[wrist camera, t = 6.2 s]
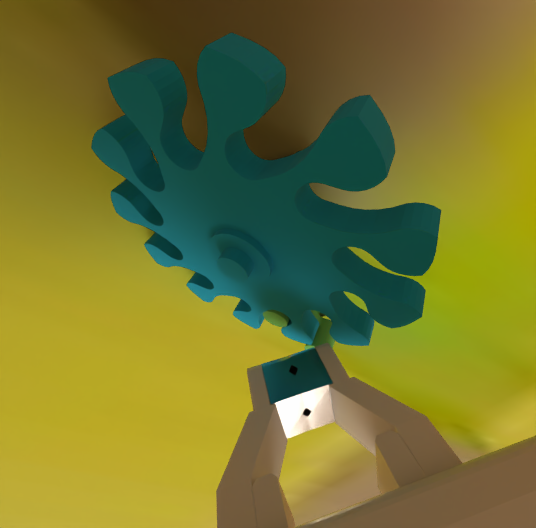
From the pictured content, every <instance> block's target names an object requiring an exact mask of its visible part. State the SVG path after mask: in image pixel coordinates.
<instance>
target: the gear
mask: <svg viewBox="0 0 536 528" xmlns="http://www.w3.org/2000/svg"><path fill="white" fill-rule="evenodd" d="M197 79H198V85H199V89H200V92H201V95H202V98H203V101H204V105H205V111H206V116H207V126H208V137H207V145H206V148H205V152H201V151H200V150H198V149H196V148H195V147H194V146H193V145H192V144H191V143H190V142H189V141H188V139H187V137H186V136H185V134H184V131H183V128H182V117H183V114H184V110H185V107H186V103H187V90H186V85H185V82H184V79H183V76H182V75H181V73H180V71H179V69H178V67H177V66H176V64H175V63H174V61H170V60H167V59H162V58H154V59H149V60H145V61H143V62H140V63H138V64H136V65H134V66H131V67H129V68H127V69H125V70H123V71H121V72H119V73H117V74H114V75H112V76H110V77H108V83H109V87H110V89H111V92H112V94H113V96H114V98H115V100H116V102H117V104H118V105H119V107H120V108H121V109H122V111H123V112H124V113H125V115H123V116H121V117H120V118H118V119H116V120H115V121H113V122H111V123H109V124H108V125H106V126H104V127H103V128H101V129H99V130H98V131H97V132H96V133H95V134H94V137H93V140H92V146H91V148H92V150H93V151H94V152H95V154H96V155H97V156H98V157H99V159H100V160H101V161H102V162H104V163H105V164H106V165H107V166H108V167H110V168H111V169H113V170H114V171H116V172H118V173H119V174H121V175H122V176H124V177H125V178H126V180H125V181H124V182H122V183H121V184H120V185H118V186H117V187H116V188H115V189H113V190H112V191H111V200H112V203H113V206H114V208H115V210H116V212H117V213H118V214H119V215H120V216H121V217H123V218H124V219H126V220H127V221H130V222H132V223H136V224H140V225H142V226H145V227H147V228H149V229H151V230H153V231H155V233H154V234H153V236H152V237H151V238H150V239H149V240H148V241H147V242H146V243H145V244H144V245H145V247H146V249H147V251H148V252H149V254H150V255H151V256H152V257H153V259H154V260H155V261H156V262H157V263H158V264H160V265H162V266H165V267H170V266H181V267H184V268H188V269H190V270H193V271H195V272H196V273H195V274H194V275H193V277H192V278H191V279H190V280H189V282H188V283H187V286H188V288H189V289H190V290H191V291H192V292H194V293H195V294H196V295H197V296H198V297H200V298H201V299H202V300H203V301H206V302H212V301H213V299H214V298H215V297H216V296H219V295H228V296H235V297H238V298H240V299H241V300H240V302H239V303H238V305H237V307H236V308H235V310H234V312H233V315H234V316H235V317H236V318H237V319H239V320H240V321H242V322H244V323H246V324H247V325H249V326H251V327H253V328H255V329H257V328H259V327H260V326H261V324H262V322H263V320H264V318H265V319H266V320H267V321H268V322H270V323H272V324H273V325H276V326H279V327H282V329H281V331H282V333H283V334H284V336H286V337H288V338H290V339H293V340H295V341H298V342H301V343H305V344H306V346H305V350H307V349H310V348H313V347H316V346H319V345H322V344H325V343H329V344H330V346H331V347H332V348H333V345H334V342H335V341H337V342H338V343H341V344H346V345H357V346H364V345H369V342H370V338H371V334H372V330H373V326H374V320H375V321H377V322H378V323H380V324H382V325H384V326H386V327H390V328H396V327H401V326H405V325H407V324H410V323H412V322H414V321H415V320H417V319H419V318H420V317H422V313H423V305H424V298H425V289H424V288H423V286H422V285H420V284H419V283H418V282H416V281H414V280H413V279H410V278H407V277H403V276H398V275H394V274H391V273H388V272H385V271H382V270H380V269H378V268H375V267H373V266H371V265H370V264H368V263H366V262H365V261H363V260H362V259H361V258H359V257H358V256H357V255H356V254H355V253H353V252H352V251H351V250H350V249H349V248H348V247H349V246H350V247H357V248H360V249H363V250H365V251H367V252H368V253H369V254H371V255H372V256H373V257H374V258H375V259H376V260H377V261H379V262H380V263H381V264H382V265H383V266H385V267H386V268H387V269H389V270H391V271H393V272H396V273H399V274H403V275H409V276H421V275H423V274H424V273H425V272H426V271H427V270H428V269H429V267H430V266H431V264H432V262H433V259H434V256H435V253H436V246H437V239H438V231H439V223H440V215H441V210H440V209H438V208H437V207H435V206H432V205H429V204H425V203H407V204H403V205H399V206H396V207H393V208H386V209H379V210H363V209H354V208H350V207H346V206H342V205H338V204H335V203H332V202H329V201H326V200H323V199H321V198H320V197H318V196H317V195H316V194H315V193H314V192H313V191H312V190H311V188H310V186H309V183H322V184H326V185H329V186H332V187H335V188H339V189H342V190H347V191H363V190H368V189H370V188H373V187H375V186H376V185H378V184H380V183H381V182H382V181H383V180H384V179H385V178H386V177H387V175H388V172H389V169H390V166H391V163H392V160H393V157H394V154H395V145H394V139H393V136H392V133H391V130H390V127H389V125H388V123H387V121H386V119H385V117H384V115H383V113H382V112H381V110H380V109H379V108H378V106H377V105H376V103H375V102H374V100H373V99H372V97H371V96H370V95H364V96H358V97H355V98H352V99H350V100H348V101H347V102H345V103H344V104H343V105H341V106H340V107H339V109H338V110H337V111H336V112H335V113H334V115H333V116H332V118H331V119H330V121H329V122H328V124H327V125H326V126H325V128H324V129H323V131H322V132H321V134H320V136H319V137H318V139H317V140H316V141H314V142H313V143H312V144H311V145H310V146H309V147H307V148H305V149H304V150H302V151H298V152H296V153H295V154H293V155H290V156H288V157H284V158H280V159H276V160H264V159H261V158H259V157H258V156H256V155H255V154H254V153H253V152H252V151H251V150H250V149H249V147H248V146H247V144H246V142H245V138H244V132H243V130H244V129H245V128H247V127H250V126H252V125H253V124H255V123H256V122H257V121H258V120H259V119H260V118H261V117H262V116H263V115H264V114H265V113H266V112H267V111H268V110H269V109H270V108H271V107H272V106H273V105H274V104H275V103H276V102H277V101H278V100H279V98H280V97H281V95H282V93H283V90H284V87H285V81H286V68H285V66H284V65H283V64H282V63H281V62H280V61H279V59H278V58H277V57H276V56H275V55H273V54H272V53H271V52H269V51H268V50H267V49H265V48H264V47H262V46H260V45H259V44H257V43H255V42H253V41H251V40H249V39H246V38H244V37H241V36H239V35H236V34H234V33H229V34H228V35H226V36H224V37H222V38H220V39H218V40H216V41H214V42H212V43H210V44H208V45H207V46H205V47H204V49H203V50H202V52H201V54H200V56H199V60H198V63H197ZM151 149H152V151H153V153H154V155H155V157H156V159H157V162H158V164H157V162H156V161H155V159H154V157H153V154H152V151H151ZM343 291H346V292H350V293H353V294H355V295H357V296H358V297H360V298H361V299H362V300H363V301H364V302H365V304H366V307H367V309H368V312H369V314H370V315H369V314H368V313H367V312H365V311H363V310H362V309H360V308H359V307H358V306H356V305H355V304H354V303H353V302H351V301H350V300H349V299H348V297H347V296H346V295H345V294H344V292H343ZM325 315H326V316H327V317H329V318H330V319H331V321H330V320H328V319H324V318H322V317H323V316H325Z"/></svg>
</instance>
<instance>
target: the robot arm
mask: <svg viewBox="0 0 536 528" xmlns="http://www.w3.org/2000/svg"><path fill="white" fill-rule="evenodd" d="M247 375H248V381H249V387H250V392H251V398H252V404H253V410H254V411H252V412H249V415H248V417H247V419H246V422H245V424H244V427H243V429H242V431H241V434H240V436H239V438H238V441H237V443H236V446H235V448H234V450H233V453H232V455H231V458H230V460H229V462H228V465H227V467H226V469H225V472H224V474H223V477H222V479H221V481H220V484H219V486H218V489H217V491H216V493H217V528H536V436H533V437H531V438H528V439H526V440H523V441H520V442H518V443H515V444H512V445H510V446H507V447H505V448H502V449H499V450H497V451H494V452H491V453H489V454H486V455H483V456H481V457H478V458H476V459H473V460H470V461H468V462H465V463H462V462H461V461H460V459H459V458H458V457H457V456H456V454H455V453H454V452H453V450H452V449H451V448H450V447H449V445H448V444H447V443H446V441H445V440H444V439H443V438H442V436H441V435H440V434H439V432H438V431H437V430H436V429H435V427H434V426H433V425H432V423H431V422H430V421H429V419H428V418H427V417H426V416H425V415H423V414H421V413H419V412H417V411H415V410H414V409H412V408H410V407H408V406H406V405H404V404H403V403H401V402H399V401H397V400H395V399H393V398H392V397H390V396H388V395H386V394H384V393H382V392H381V391H379V390H377V389H375V388H373V387H371V386H370V385H368V384H366V383H364V382H362V381H360V380H359V379H357V378H355V377H352V378H349V376H348V374H347V373H346V371H345V369H344V368H343V366H342V364H341V363H340V361H339V359H338V358H337V356H336V354H335V352H334V351H333V349H332V347H331V346H330V344H329V343H325V344H322V345H319V346H316V347H313V348H310V349H307V350H304V351H301V352H298V353H295V354H292V355H289V356H287V357H284V358H280V359H277V360H274V361H270V362H267V363H264V364H261V365H258V366H254V367H251V368H248V369H247ZM333 422H336V424H338V425H339V426H340V427H341V428H342V429H344V430H345V431H346V432H347V433H348V434H350V435H351V436H352V437H353V438H354V439H356V440H357V441H358V442H359V443H361V444H362V445H363V446H364V447H365V448H367V449H368V450H369V451H370V452H371V453H373V454H374V455H375V456H376V465H377V482H378V488H379V490H380V492H381V495H378V496H376V497H373V498H370V499H368V500H365V501H362V502H360V503H357V504H354V505H352V506H349V507H347V508H344V509H341V510H339V511H336V512H333V513H331V514H328V515H326V516H323V517H320V518H318V519H315V520H312V521H310V522H307V523H304V524H302V525H299V526H297V527H295V522H294V518H293V516H292V513H291V511H290V508H289V505H288V503H287V500H286V498H285V495H284V493H283V490H282V488H281V485H280V483H279V476H280V472H281V467H282V463H283V458H284V454H285V449H286V445H287V438H290V437H292V436H295V435H298V434H300V433H303V432H305V431H308V430H311V429H314V428H317V427H320V426H323V425H326V424H329V423H333Z"/></svg>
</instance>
